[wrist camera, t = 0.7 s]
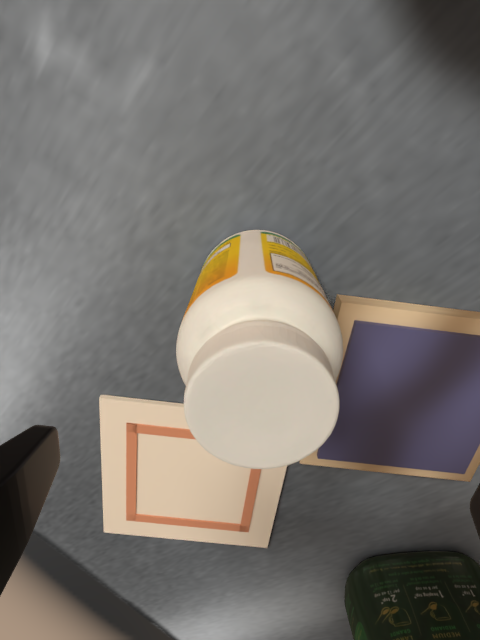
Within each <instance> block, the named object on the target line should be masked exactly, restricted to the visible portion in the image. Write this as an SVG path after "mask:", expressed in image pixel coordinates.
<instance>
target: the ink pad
mask: <svg viewBox="0 0 480 640" xmlns="http://www.w3.org/2000/svg"><path fill="white" fill-rule="evenodd" d="M333 312H334V314H335V316H336V319H337V321H338V323H339V326H340V329H341V334H342V339H343V359H342V364H341V368H340V371H339V374H338V377H337V379H336V381H335V382H336V385H337V388H338V393H339V414H338V419H337V422H336V424H335V427H334V429H333V431H332V433H331V435H330V436H329V437H328V439H327V440H326V441H325V443H324V444H323V445H322V446H321V447H319V448H318V449H317V450H316V451H315V452H313V453H312V454H310V455H308V456H307V457H305V458H304V459H302V460H300V464H308V465H317V466H327V467H336V468H346V469H355V470H365V471H374V472H384V473H393V474H403V475H412V476H422V477H431V478H440V479H450V480H459V481H469V482H470V481H471V479H472V477H473V475H474V473H475V471H476V469H477V467H478V465H479V464H480V312H474V311H466V310H458V309H450V308H442V307H434V306H426V305H418V304H410V303H402V302H394V301H386V300H378V299H370V298H362V297H354V296H346V295H338V294H337V297H336V301H335V305H334V309H333Z"/></svg>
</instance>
